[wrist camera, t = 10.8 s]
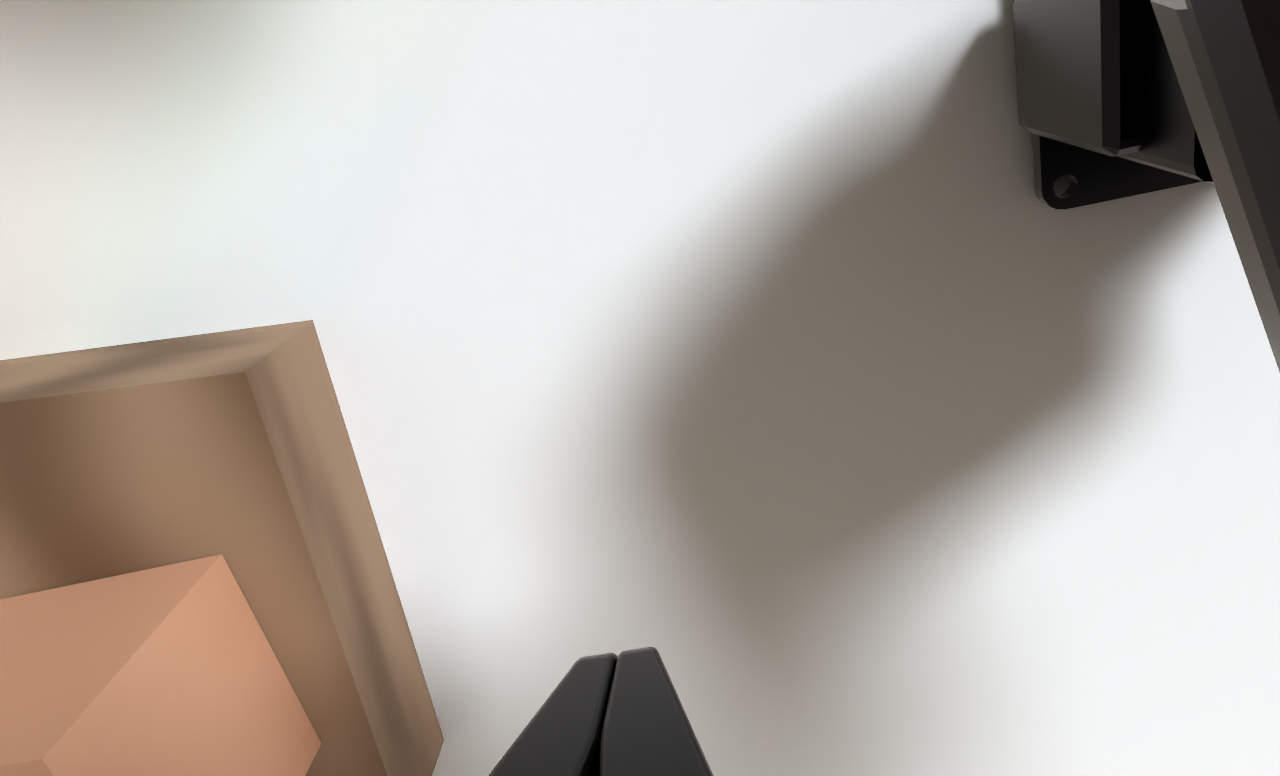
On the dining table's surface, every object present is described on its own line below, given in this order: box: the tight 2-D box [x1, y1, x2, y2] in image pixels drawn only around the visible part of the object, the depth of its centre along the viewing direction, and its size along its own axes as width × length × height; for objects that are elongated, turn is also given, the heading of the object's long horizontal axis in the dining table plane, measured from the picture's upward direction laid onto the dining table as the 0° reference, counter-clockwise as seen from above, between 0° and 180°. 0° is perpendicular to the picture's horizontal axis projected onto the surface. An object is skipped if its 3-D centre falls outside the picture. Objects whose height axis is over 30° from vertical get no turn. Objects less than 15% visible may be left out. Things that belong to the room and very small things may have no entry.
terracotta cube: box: [0, 554, 321, 776], centre depth 18 cm, size 6×6×6 cm
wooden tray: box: [0, 320, 444, 776], centre depth 23 cm, size 10×14×4 cm
